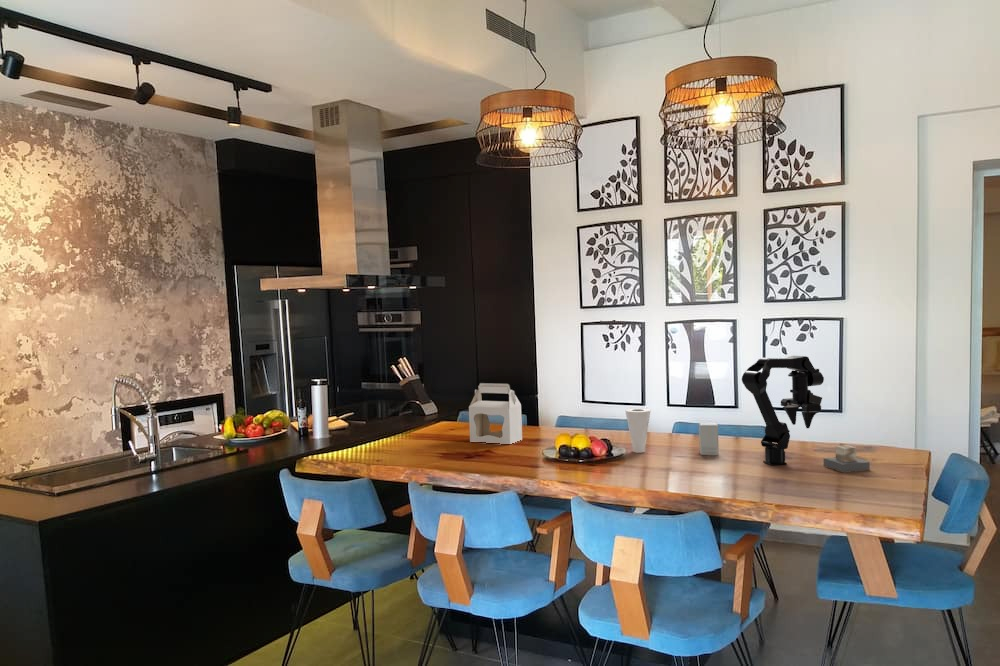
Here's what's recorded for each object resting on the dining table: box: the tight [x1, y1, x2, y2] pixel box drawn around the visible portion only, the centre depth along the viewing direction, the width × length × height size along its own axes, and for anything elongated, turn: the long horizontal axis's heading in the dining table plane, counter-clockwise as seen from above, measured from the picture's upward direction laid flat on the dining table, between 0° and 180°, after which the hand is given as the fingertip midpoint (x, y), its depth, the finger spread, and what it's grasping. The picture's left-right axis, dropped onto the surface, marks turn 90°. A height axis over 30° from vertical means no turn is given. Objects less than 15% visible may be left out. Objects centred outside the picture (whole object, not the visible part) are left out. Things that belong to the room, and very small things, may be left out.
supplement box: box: [698, 422, 720, 456], centre depth 296 cm, size 7×7×13 cm
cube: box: [835, 444, 858, 462], centre depth 263 cm, size 5×5×5 cm
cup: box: [625, 407, 651, 454], centre depth 304 cm, size 11×11×18 cm
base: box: [823, 456, 871, 473], centre depth 263 cm, size 11×11×3 cm
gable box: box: [468, 382, 523, 445], centre depth 338 cm, size 22×13×28 cm, turn 63°
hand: (800, 426), depth 280 cm, fingers open, 9 cm apart
